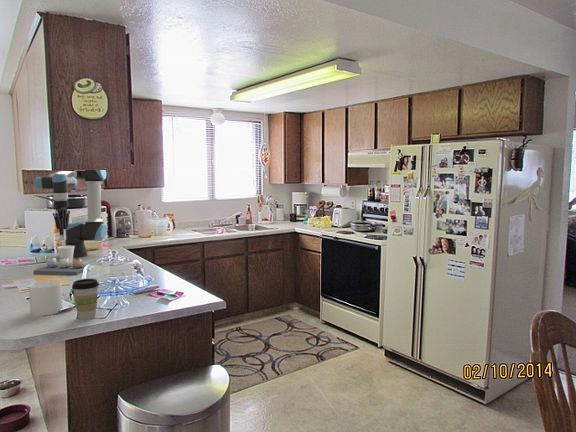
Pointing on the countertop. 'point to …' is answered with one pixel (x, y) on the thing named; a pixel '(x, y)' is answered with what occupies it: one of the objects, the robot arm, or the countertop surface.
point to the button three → (77, 263)
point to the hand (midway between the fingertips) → (63, 240)
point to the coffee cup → (86, 297)
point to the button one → (51, 262)
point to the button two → (64, 262)
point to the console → (60, 270)
